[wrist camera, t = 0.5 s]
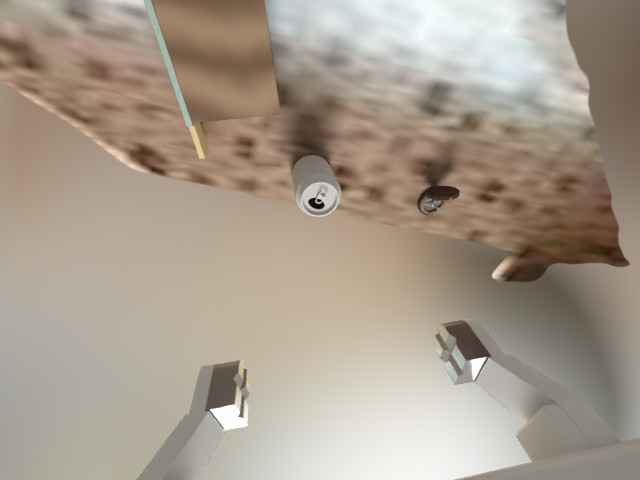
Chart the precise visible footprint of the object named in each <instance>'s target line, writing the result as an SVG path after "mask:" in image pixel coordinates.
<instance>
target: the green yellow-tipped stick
mask: <svg viewBox="0 0 640 480" xmlns="http://www.w3.org/2000/svg"><path fill="white" fill-rule="evenodd" d="M144 3H145V6H146V8H147V11H148V14H149V17H150V20H151V23H152V26H153V29H154V32H155V35H156V38H157V41H158V43H159V46H160V49H161V52H162V55H163V58H164V61H165V64H166V67H167V70H168V73H169V76H170V78H171V81H172V84H173V87H174V90H175V93H176V96H177V99H178V102H179V105H180V108H181V111H182V113H183V116H184V119H185V122H186V125H187V127H189V128H190V131H191V134H192V137H193V140H194V143H195V146H196V149H197V152H198V155H199V158H200V159H204V158H206V156H207V155H208V153H209V149H208V146H207V143H206V140H205V137H204V133H203V130H202V127H201V124H200V122H197V123H192V121H191V118H190V115H189V112H188V109H187V106H186V103H185V100H184V97H183V94H182V91H181V88H180V85H179V82H178V79H177V75H176V72H175V69H174V66H173V63H172V60H171V57H170V54H169V51H168V48H167V45H166V42H165V39H164V36H163V33H162V30H161V27H160V24H159V21H158V18H157V15H156V12H155V9H154V6H153V3H152V0H144Z"/></svg>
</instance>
